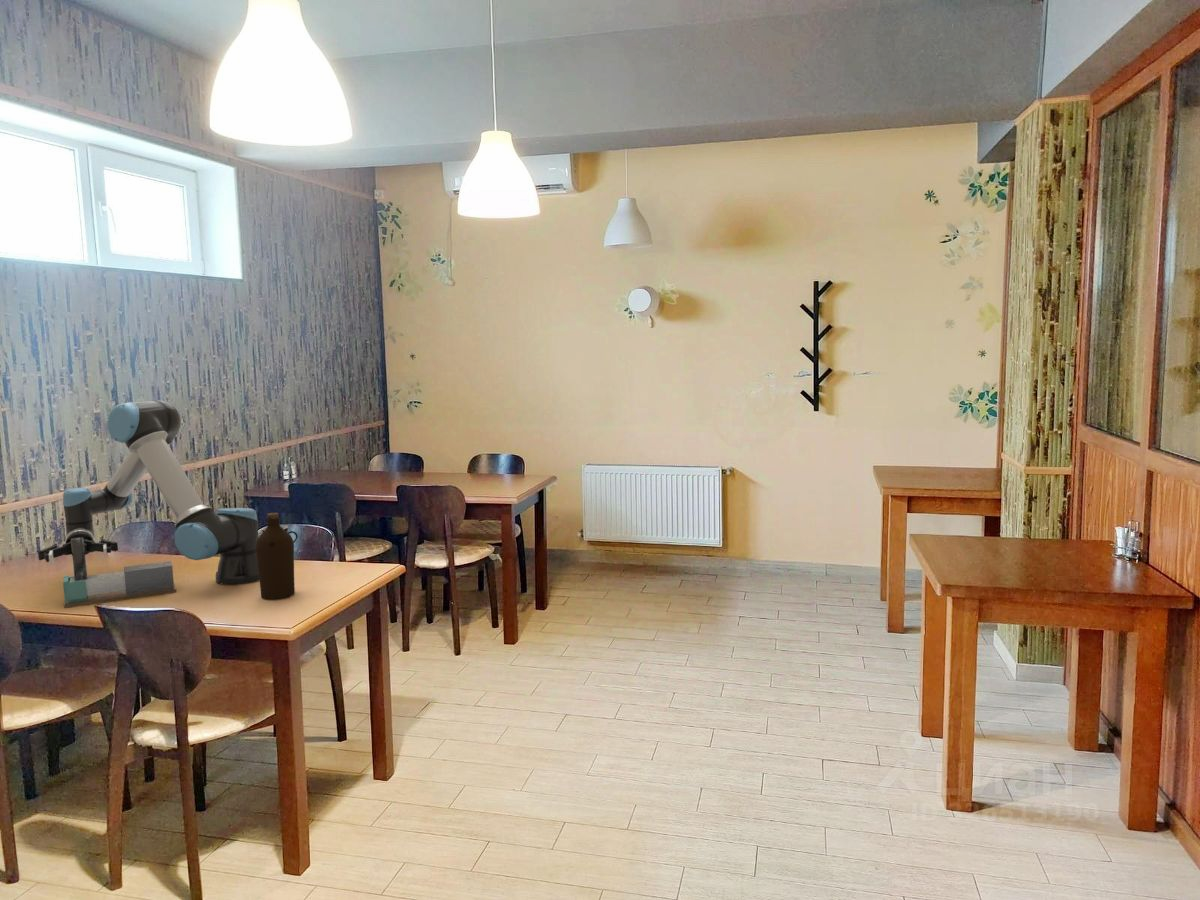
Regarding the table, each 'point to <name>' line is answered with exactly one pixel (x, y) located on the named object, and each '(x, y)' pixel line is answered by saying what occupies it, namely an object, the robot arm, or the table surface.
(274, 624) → the table surface
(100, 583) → the metal plate with post
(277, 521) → the olive oil
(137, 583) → the base plate with blocks
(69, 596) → the teal bracket
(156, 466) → the robot arm
